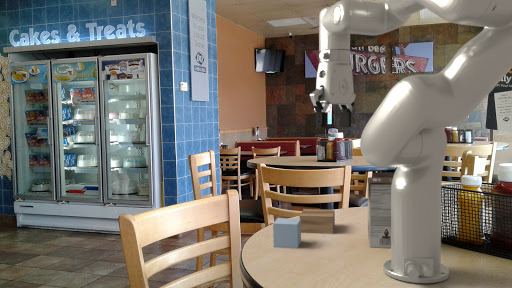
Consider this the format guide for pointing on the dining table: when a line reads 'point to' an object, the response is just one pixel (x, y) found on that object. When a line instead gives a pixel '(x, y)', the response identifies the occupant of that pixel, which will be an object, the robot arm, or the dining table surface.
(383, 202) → the coffee box
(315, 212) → the walnut block
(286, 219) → the slate cube
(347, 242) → the dining table surface
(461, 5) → the robot arm
